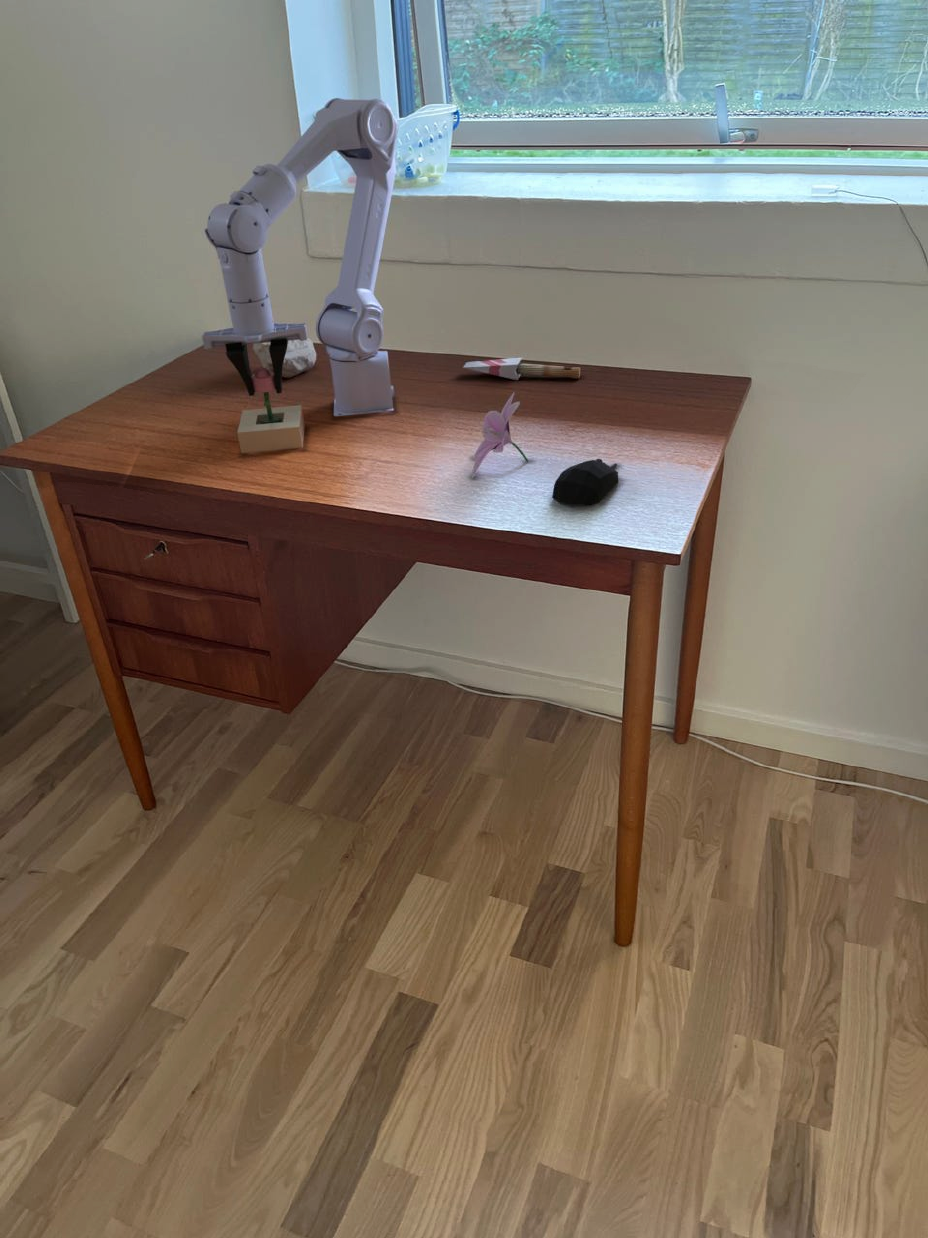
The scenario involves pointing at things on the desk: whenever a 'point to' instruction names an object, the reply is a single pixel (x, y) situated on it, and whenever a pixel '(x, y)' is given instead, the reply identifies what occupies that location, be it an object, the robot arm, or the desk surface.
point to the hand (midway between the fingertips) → (265, 392)
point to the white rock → (289, 357)
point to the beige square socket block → (271, 430)
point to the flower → (265, 392)
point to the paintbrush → (521, 369)
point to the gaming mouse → (585, 483)
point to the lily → (496, 433)
